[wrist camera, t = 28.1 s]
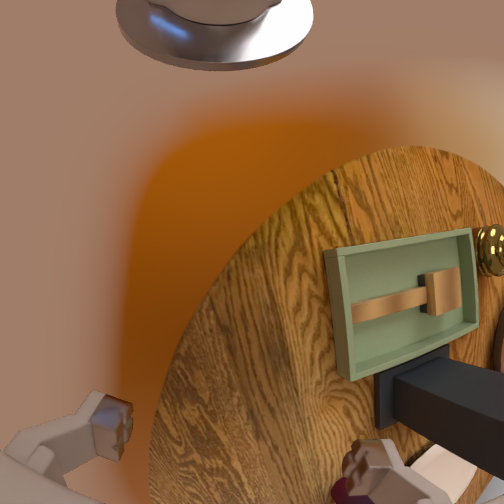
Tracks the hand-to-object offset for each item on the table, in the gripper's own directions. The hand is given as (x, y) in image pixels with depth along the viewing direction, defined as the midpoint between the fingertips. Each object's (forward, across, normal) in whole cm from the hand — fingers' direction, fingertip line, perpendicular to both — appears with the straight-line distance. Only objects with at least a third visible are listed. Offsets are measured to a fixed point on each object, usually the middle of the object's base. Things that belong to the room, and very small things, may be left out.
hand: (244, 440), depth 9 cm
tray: (+24, -19, 0) cm, 31 cm away
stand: (+22, -23, +11) cm, 33 cm away
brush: (+24, -18, 0) cm, 29 cm away
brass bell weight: (+29, -33, -7) cm, 45 cm away
